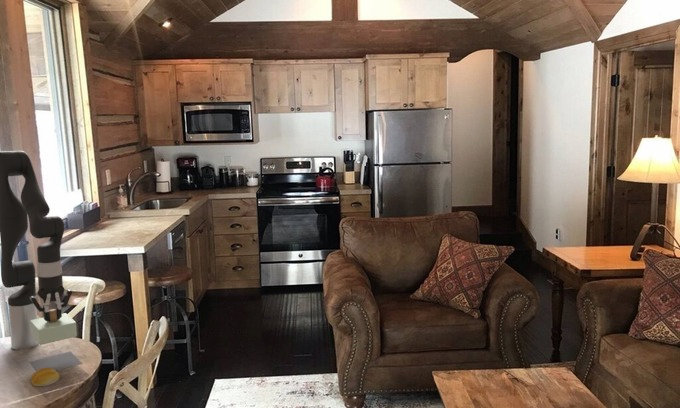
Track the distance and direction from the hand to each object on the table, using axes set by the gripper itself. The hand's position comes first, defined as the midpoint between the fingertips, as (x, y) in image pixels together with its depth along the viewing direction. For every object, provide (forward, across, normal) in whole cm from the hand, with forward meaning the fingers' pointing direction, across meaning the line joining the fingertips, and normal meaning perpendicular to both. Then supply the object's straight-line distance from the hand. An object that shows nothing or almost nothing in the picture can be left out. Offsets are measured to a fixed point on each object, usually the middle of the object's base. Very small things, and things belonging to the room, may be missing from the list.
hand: (52, 320), depth 194 cm
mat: (+16, 0, 0) cm, 16 cm away
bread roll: (+17, +7, +12) cm, 22 cm away
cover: (+6, 0, 0) cm, 6 cm away
